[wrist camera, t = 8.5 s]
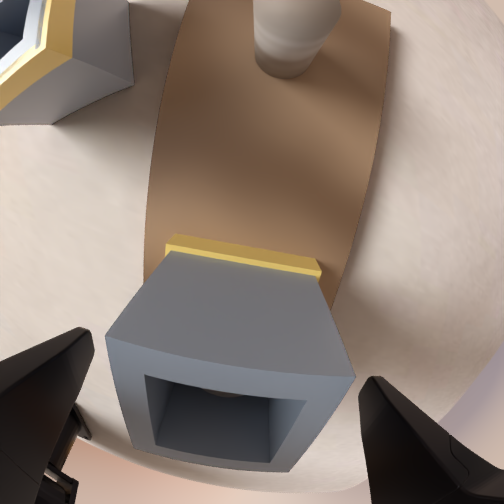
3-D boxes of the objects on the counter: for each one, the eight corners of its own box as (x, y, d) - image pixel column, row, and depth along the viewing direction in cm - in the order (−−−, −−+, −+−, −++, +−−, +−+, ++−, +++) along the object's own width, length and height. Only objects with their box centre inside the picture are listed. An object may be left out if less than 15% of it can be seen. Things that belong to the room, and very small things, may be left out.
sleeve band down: (315, 258, 10) (368, 370, 5) (282, 361, 12) (292, 474, 7) (175, 233, 10) (94, 324, 4) (169, 342, 12) (129, 448, 6)
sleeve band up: (139, 87, 9) (45, 47, 3) (48, 130, 9) (-47, 137, 4) (132, -2, 7) (69, -62, 1) (46, 44, 7) (-30, 24, 2)
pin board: (299, 368, 14) (311, 445, 9) (152, 344, 13) (119, 415, 9) (381, 20, 7) (437, -28, 3) (203, -16, 7) (178, -82, 2)
